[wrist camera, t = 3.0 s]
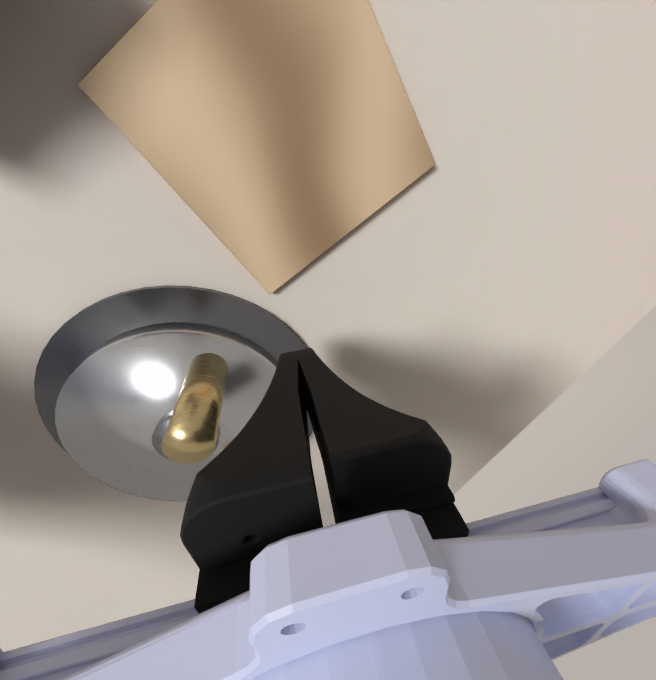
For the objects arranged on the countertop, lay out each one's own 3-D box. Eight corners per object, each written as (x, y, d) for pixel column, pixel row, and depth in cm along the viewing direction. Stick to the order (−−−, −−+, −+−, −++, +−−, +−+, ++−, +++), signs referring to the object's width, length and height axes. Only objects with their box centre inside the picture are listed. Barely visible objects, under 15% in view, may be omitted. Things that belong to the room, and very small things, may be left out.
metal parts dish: (33, 477, 17) (22, 491, 16) (45, 234, 11) (29, 239, 11) (273, 498, 22) (274, 510, 21) (360, 336, 16) (365, 344, 16)
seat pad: (269, 291, 14) (269, 294, 14) (83, 87, 10) (77, 84, 9) (431, 164, 13) (435, 163, 12) (302, -142, 8) (304, -155, 8)
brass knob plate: (61, 471, 16) (-25, 601, 11) (80, 288, 12) (-43, 368, 7) (260, 490, 20) (260, 593, 15) (326, 357, 16) (356, 440, 11)
